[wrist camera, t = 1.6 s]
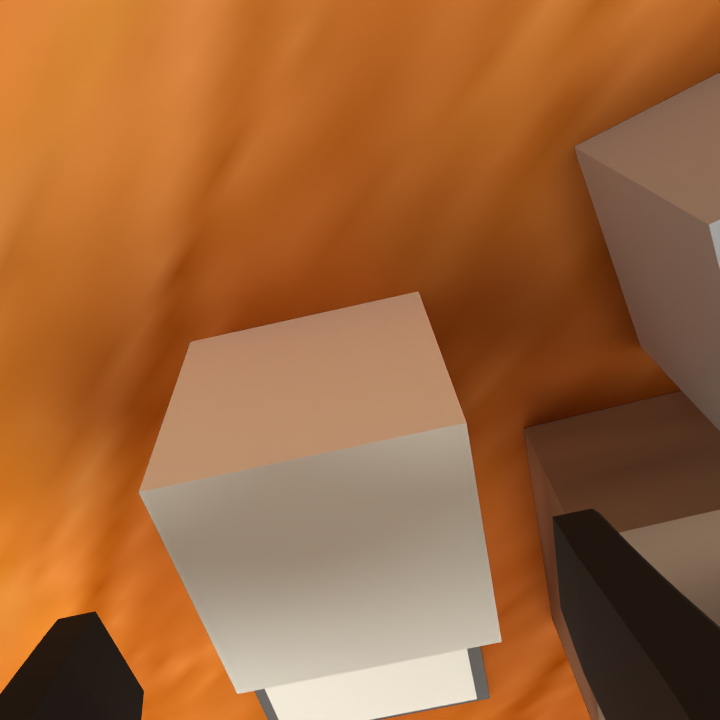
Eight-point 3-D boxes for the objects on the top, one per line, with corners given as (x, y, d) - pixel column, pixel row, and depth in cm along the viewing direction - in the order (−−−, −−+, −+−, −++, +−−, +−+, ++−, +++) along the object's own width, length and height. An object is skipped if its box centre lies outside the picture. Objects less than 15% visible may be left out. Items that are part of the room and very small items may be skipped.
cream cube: (451, 470, 16) (501, 642, 12) (256, 511, 17) (237, 694, 12) (417, 289, 14) (466, 422, 10) (190, 340, 14) (138, 492, 10)
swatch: (488, 692, 21) (491, 704, 20) (277, 733, 21) (277, 746, 21) (459, 535, 17) (462, 546, 17) (209, 586, 18) (207, 598, 17)
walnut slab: (788, 558, 19) (895, 685, 16) (549, 611, 19) (601, 746, 16) (810, 353, 16) (953, 456, 12) (520, 422, 16) (579, 541, 13)
